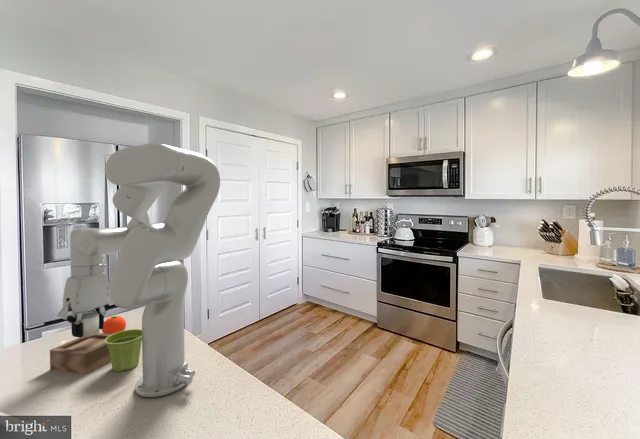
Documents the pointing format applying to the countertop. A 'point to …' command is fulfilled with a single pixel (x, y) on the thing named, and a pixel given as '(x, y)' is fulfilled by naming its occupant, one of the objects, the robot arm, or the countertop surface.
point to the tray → (81, 355)
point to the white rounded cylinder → (90, 323)
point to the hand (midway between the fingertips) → (88, 331)
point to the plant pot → (124, 349)
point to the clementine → (114, 325)
